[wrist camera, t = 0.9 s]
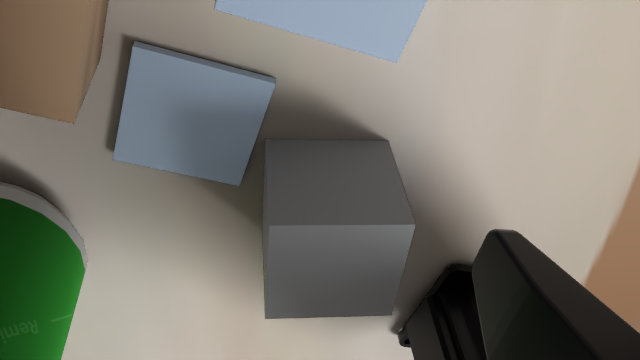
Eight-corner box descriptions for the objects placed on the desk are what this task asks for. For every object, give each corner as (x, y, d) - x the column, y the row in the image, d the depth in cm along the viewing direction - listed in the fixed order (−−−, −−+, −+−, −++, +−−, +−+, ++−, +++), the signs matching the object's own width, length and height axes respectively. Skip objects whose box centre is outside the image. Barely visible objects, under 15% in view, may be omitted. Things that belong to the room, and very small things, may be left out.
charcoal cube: (388, 139, 24) (415, 224, 20) (370, 227, 27) (391, 315, 23) (265, 137, 23) (269, 225, 19) (262, 228, 26) (265, 318, 22)
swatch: (275, 78, 21) (275, 83, 21) (239, 179, 24) (239, 186, 24) (134, 40, 20) (133, 46, 19) (114, 153, 22) (112, 160, 22)
